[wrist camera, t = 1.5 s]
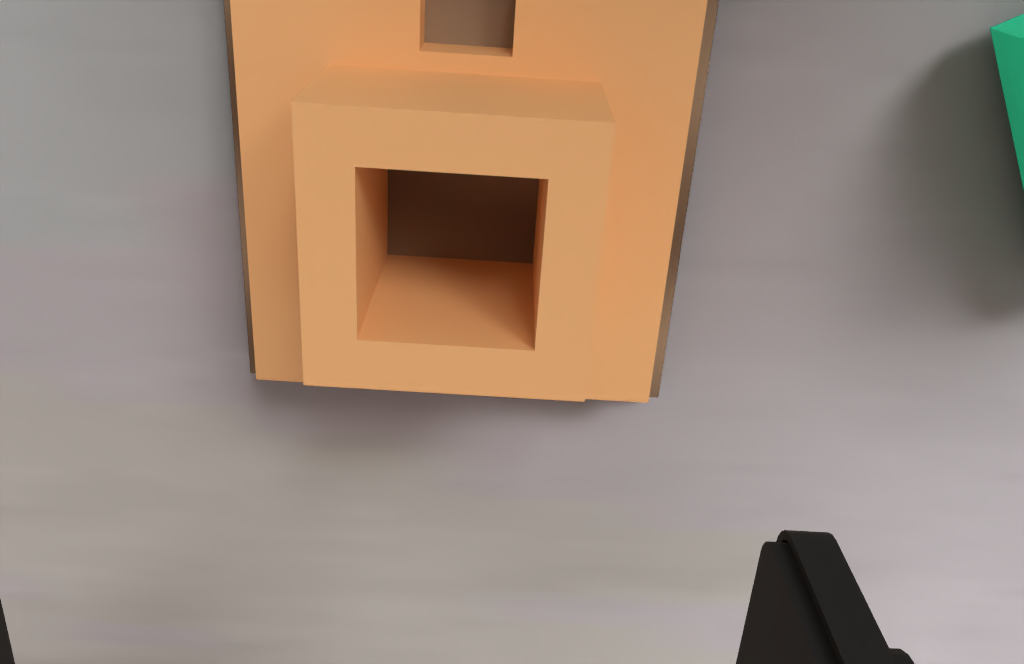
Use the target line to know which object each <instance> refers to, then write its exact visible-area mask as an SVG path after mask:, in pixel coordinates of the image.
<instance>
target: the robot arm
mask: <svg viewBox="0 0 1024 664" xmlns="http://www.w3.org/2000/svg"><path fill="white" fill-rule="evenodd" d="M0 664H15V662H14V657H13V653H12V648H11V644H10V640H9V635H8V631H7V626H6V622H5V617H4V613H3V608H2V604H1V600H0ZM736 664H914V662H913V661H912V659H911V658H910V656H909V655H908V654H907V653H905V652H904V651H903V650H901V649H892V648H889V647H888V645H887V643H886V641H885V639H884V637H883V635H882V633H881V631H880V629H879V627H878V625H877V623H876V621H875V619H874V617H873V615H872V613H871V610H870V608H869V606H868V604H867V602H866V600H865V598H864V596H863V594H862V592H861V590H860V588H859V586H858V584H857V582H856V580H855V578H854V576H853V574H852V572H851V570H850V568H849V566H848V563H847V561H846V559H845V557H844V555H843V553H842V551H841V549H840V547H839V545H838V543H837V541H836V539H835V538H834V536H833V535H832V534H830V533H826V532H807V531H789V530H784V531H782V532H781V533H780V534H779V536H778V538H777V541H776V542H765V543H764V544H763V546H762V549H761V553H760V558H759V562H758V567H757V571H756V576H755V580H754V585H753V589H752V594H751V598H750V603H749V607H748V612H747V616H746V621H745V625H744V630H743V634H742V639H741V643H740V648H739V652H738V657H737V662H736Z"/></svg>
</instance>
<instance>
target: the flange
mask: <svg viewBox="0 0 1024 664" xmlns="http://www.w3.org/2000/svg"><path fill="white" fill-rule="evenodd" d="M707 1H708V0H516V7H515V23H514V40H513V48H498V47H483V46H467V45H452V44H437V43H424V37H425V0H230V8H231V22H232V37H233V51H234V66H235V80H236V95H237V109H238V123H239V138H240V152H241V167H242V181H243V196H244V210H245V225H246V239H247V254H248V268H249V282H250V297H251V311H252V326H253V340H254V355H255V369H256V379H258V380H275V381H292V382H303V385H310V386H327V387H344V388H361V389H378V390H394V391H411V392H428V393H445V394H462V395H478V396H495V397H512V398H529V399H546V400H563V401H579V402H585V399H595V400H611V401H628V402H645V403H648V401H649V395H650V388H651V381H652V374H653V368H654V361H655V354H656V347H657V340H658V334H659V327H660V320H661V313H662V306H663V300H664V293H665V286H666V279H667V272H668V266H669V259H670V252H671V245H672V239H673V232H674V225H675V218H676V211H677V205H678V198H679V191H680V184H681V177H682V171H683V164H684V157H685V150H686V144H687V137H688V130H689V123H690V116H691V110H692V103H693V96H694V89H695V82H696V76H697V69H698V62H699V55H700V48H701V42H702V35H703V28H704V21H705V15H706V8H707ZM388 169H395V170H411V171H426V172H442V173H458V174H474V175H489V176H505V177H521V178H537V179H539V189H538V202H537V215H536V228H535V241H534V254H533V264H531V263H515V262H499V261H483V260H467V259H451V258H435V257H418V256H402V255H388Z"/></svg>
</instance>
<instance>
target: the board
mask: <svg viewBox="0 0 1024 664" xmlns="http://www.w3.org/2000/svg"><path fill="white" fill-rule="evenodd" d="M718 1H719V0H708V1H707V8H706V15H705V21H704V28H703V35H702V42H701V48H700V55H699V62H698V69H697V76H696V82H695V89H694V96H693V103H692V110H691V116H690V123H689V130H688V137H687V144H686V150H685V157H684V164H683V171H682V177H681V184H680V191H679V198H678V205H677V211H676V218H675V225H674V232H673V239H672V245H671V252H670V259H669V266H668V272H667V279H666V286H665V293H664V300H663V306H662V313H661V320H660V327H659V334H658V340H657V347H656V354H655V361H654V368H653V374H652V381H651V388H650V395H649V397H658V395H659V389H660V382H661V376H662V369H663V363H664V356H665V349H666V343H667V336H668V330H669V323H670V317H671V310H672V303H673V297H674V290H675V284H676V277H677V271H678V264H679V257H680V251H681V244H682V238H683V231H684V225H685V218H686V212H687V205H688V198H689V192H690V185H691V179H692V172H693V166H694V159H695V152H696V146H697V139H698V133H699V126H700V120H701V113H702V106H703V100H704V93H705V87H706V80H707V74H708V67H709V61H710V54H711V47H712V41H713V34H714V28H715V21H716V15H717V8H718ZM515 7H516V0H425V37H424V43H437V44H452V45H467V46H483V47H498V48H513V40H514V23H515ZM224 9H225V23H226V37H227V51H228V65H229V79H230V93H231V106H232V120H233V134H234V148H235V162H236V176H237V190H238V204H239V218H240V232H241V245H242V259H243V273H244V287H245V301H246V315H247V329H248V343H249V357H250V371H251V373H256V369H255V355H254V340H253V326H252V311H251V297H250V282H249V268H248V254H247V239H246V225H245V210H244V196H243V181H242V167H241V152H240V138H239V123H238V109H237V95H236V80H235V66H234V51H233V37H232V22H231V8H230V0H224ZM538 189H539V179H537V178H521V177H505V176H489V175H474V174H458V173H442V172H426V171H411V170H395V169H388V255H402V256H418V257H435V258H451V259H467V260H483V261H499V262H515V263H531V264H533V254H534V241H535V228H536V215H537V202H538Z"/></svg>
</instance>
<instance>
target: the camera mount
mask: <svg viewBox="0 0 1024 664" xmlns="http://www.w3.org/2000/svg"><path fill="white" fill-rule="evenodd" d="M990 31H991V35H992V40H993V45H994V50H995V55H996V60H997V64H998V69H999V74H1000V79H1001V84H1002V88H1003V93H1004V98H1005V103H1006V108H1007V112H1008V117H1009V122H1010V127H1011V132H1012V137H1013V141H1014V146H1015V151H1016V156H1017V161H1018V165H1019V170H1020V175H1021V180H1022V185H1023V189H1024V14H1022V15H1020V16H1017V17H1015V18H1012V19H1010V20H1008V21H1005V22H1003V23H1000V24H998V25H996V26H993V27H991V28H990Z"/></svg>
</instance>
